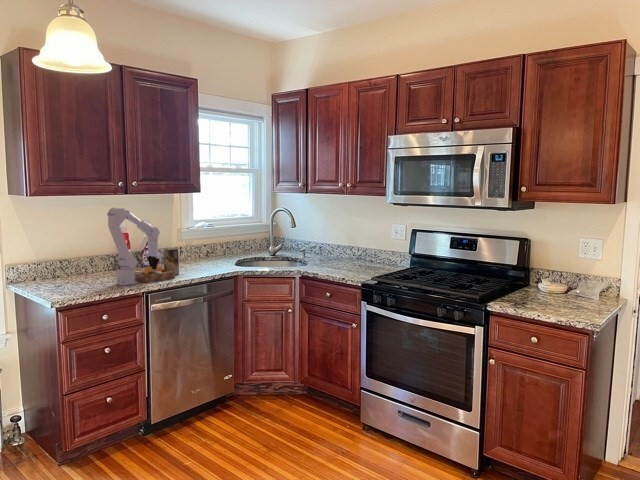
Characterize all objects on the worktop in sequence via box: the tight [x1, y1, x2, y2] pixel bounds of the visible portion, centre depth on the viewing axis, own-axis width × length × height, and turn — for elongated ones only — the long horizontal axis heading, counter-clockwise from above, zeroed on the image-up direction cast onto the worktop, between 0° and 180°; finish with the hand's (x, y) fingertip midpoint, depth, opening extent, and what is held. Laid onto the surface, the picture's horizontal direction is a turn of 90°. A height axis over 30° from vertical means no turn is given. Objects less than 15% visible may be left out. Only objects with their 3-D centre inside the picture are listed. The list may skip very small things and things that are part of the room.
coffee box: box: [162, 248, 180, 276], centre depth 301 cm, size 9×6×16 cm
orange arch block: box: [143, 265, 163, 275], centre depth 285 cm, size 10×2×6 cm, turn 137°
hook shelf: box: [135, 268, 176, 284], centre depth 285 cm, size 20×14×5 cm
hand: (153, 269), depth 285 cm, fingers closed on orange arch block, 2 cm apart
